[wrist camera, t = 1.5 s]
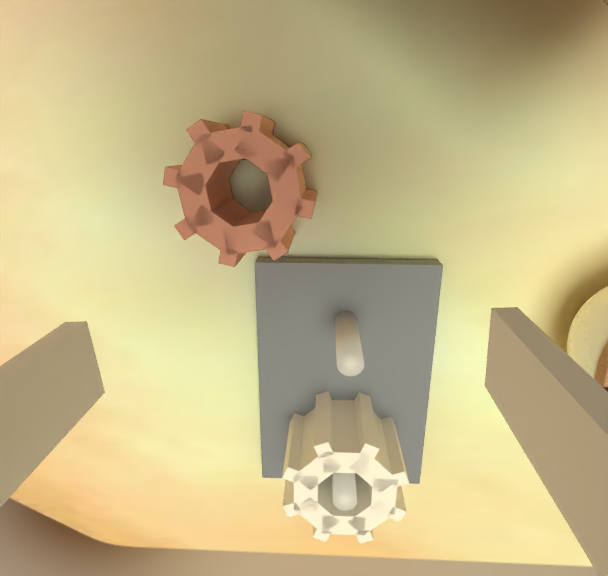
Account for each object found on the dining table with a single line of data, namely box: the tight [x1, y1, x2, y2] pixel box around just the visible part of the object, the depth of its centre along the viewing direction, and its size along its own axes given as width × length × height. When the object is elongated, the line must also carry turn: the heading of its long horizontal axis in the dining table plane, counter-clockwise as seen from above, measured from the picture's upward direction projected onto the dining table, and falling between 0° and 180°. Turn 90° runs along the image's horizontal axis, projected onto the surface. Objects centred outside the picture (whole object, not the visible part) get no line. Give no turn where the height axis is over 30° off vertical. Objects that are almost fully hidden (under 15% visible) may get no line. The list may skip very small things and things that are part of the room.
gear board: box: [255, 257, 443, 543], centre depth 30 cm, size 19×13×8 cm
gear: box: [163, 111, 317, 267], centre depth 27 cm, size 8×8×6 cm
